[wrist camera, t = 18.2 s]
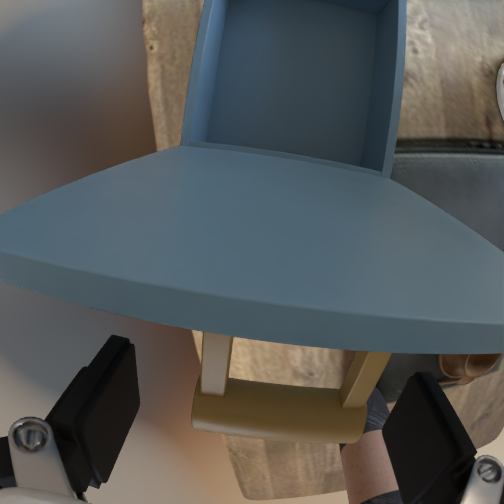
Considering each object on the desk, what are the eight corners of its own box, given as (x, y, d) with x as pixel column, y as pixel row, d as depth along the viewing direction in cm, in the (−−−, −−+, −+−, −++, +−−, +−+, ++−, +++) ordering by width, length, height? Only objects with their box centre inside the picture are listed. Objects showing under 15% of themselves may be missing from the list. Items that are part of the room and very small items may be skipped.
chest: (226, -12, 24) (215, -46, 17) (381, 14, 24) (406, -13, 17) (199, 149, 30) (179, 150, 23) (363, 175, 30) (389, 183, 23)
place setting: (452, 281, 33) (476, 302, 27) (543, 275, 32) (566, 291, 26) (420, 389, 38) (434, 416, 33) (510, 369, 37) (527, 388, 32)
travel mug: (321, 410, 40) (336, 534, 21) (356, 376, 38) (393, 505, 19) (359, 424, 41) (383, 535, 22) (393, 393, 39) (436, 506, 20)
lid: (-45, 238, 5) (20, 410, 7) (586, 325, 5) (488, 457, 7) (177, 145, 22) (172, 221, 25) (392, 179, 22) (374, 251, 25)
